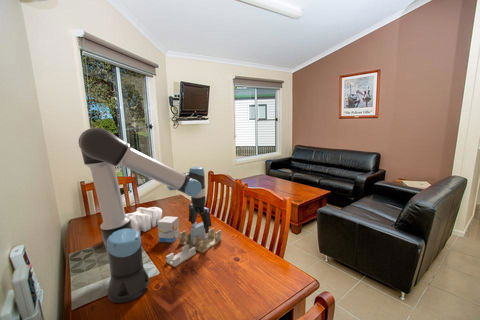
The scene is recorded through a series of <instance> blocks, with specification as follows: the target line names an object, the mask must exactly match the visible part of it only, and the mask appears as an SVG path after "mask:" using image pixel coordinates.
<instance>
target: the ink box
mask: <svg viewBox="0 0 480 320" xmlns="http://www.w3.org/2000/svg"><path fill="white" fill-rule="evenodd" d="M157 229H158V230H157V231H158V242H159V243H174V242H175V241H176V240H177V239H178V238H179V233H180V227H179V217H178V216H168V215H166V216H164V217H161V220H160V221H158V225H157Z"/></svg>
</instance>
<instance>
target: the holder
mask: <svg viewBox="0 0 480 320" xmlns="http://www.w3.org/2000/svg"><path fill="white" fill-rule="evenodd" d="M196 252H197V251H196V250H195V247H192V248H189V245H188V244H187V245H185V246H184V245H183V246H182V247H181V251H180V252H179V253H176V254H175V255H174V253H173V252H171V253H169V254H168V255H166V256H165V263H167V264H169V265H170V266H173V267H174V268H176V267H177V266H179V265H180V264H182V263H183V262H185V261H186V260H188V259H190V258H191V257H193V256H194V255H197V253H196Z"/></svg>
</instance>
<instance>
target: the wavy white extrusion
mask: <svg viewBox="0 0 480 320" xmlns="http://www.w3.org/2000/svg"><path fill="white" fill-rule="evenodd" d="M135 210H136V211H134V212H129V213H125V215H126V216H128V217H130V220H131V225H132V229H134V230H136V231H138V232H139V234H140V235H142V234H141V233H142V232H144V233H145V232H147V231H150V230H151V229H152V228H154V227H156V226H158V221H160V220H161V219H162V215H163V210H162V208H160V207H157V206H150V207H141V206H140V207H137V208H135Z"/></svg>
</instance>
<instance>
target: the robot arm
mask: <svg viewBox="0 0 480 320" xmlns="http://www.w3.org/2000/svg"><path fill="white" fill-rule="evenodd" d="M78 146H79V148H80V152H81V154H82V159H83V164H84V165H85V166H86V167H88V168H89V169H90V172H91V177H92V182H93V184H94V189H95V194H96V197H97V202H98V205H99V209H100V214H101V218H102V221H103V222H102V223H101V224H100V231H101V236H102V237H101V238H102V242H103V244H104V247H105V250H106V252H107V257H108V263H109V264H108V265H109V271H110V272H109V273H110V279H109V282H108V287H107V297H108V300H109V301H110V302H112V303H115V304H122V303H128V302H131V301H134V300H137V299H138V298H140V297H141V296H142V295H144V294H145V293H146V292H147V291H148V286H149V285H150V276H149V275H148V273H147V271H146V269H145V268H144V261H143V250H142V237H141V234H139V232H138V231H136V230H134V229H132V225H131V220H130V217H128V216H126V215H125V214H126V211H125V207H124V202H123V198H122V193H121V190H120V185H119V180H118V175H117V171H116V170H117V169H116V167H118V166H122V167H124V168H127V169H128V170H131V171H133V172H135V173H136V174H137V173H138V174H140V175H142V176H144V177H146V178H149V179H151V180H154V181H155V182H158V183H161V184H162V185H165V186H166V187H167V189H168V190H169V191H178V192H181V193H183V194H185V195H186V196H188V197H190V198H191V199H190V201H191V204H188V222H190V223H191V227H193V226H195V225H197V224H198V222H197V218H198V214H199V217H201V222H203V224H204V227H203V234H204V239H205V238H208V232H209V230H210V227H212V221H211V215H210V214H211V213H210V210H211V209H210V208H209V207H206V202H207V201H206V199H207V198H206V187H205V186H206V185H205V184H206V181H205V177H206V176H205V169H204V167H201V166H192V167H190V168H189V171H188V172H180V171H178V170H176V169H175V168H173V167H171V166H169V165H166V164H164V163H162V162H160V161H158V160H157V159H154V158H153V157H150V156H148V155H147V154H144V153H143V152H141V151H138V150H137V149H135V148H133V147H131V145H130V143H128V142H127V141H125V140H123V139H121V138H119V137H118V136H116V135H115V134H114V133H112V132H111V131H109V130H108V129H105V128H100V127H92V128H88V129H86V130H85V131H82V133H81V134H80V135H79V138H78Z"/></svg>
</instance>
